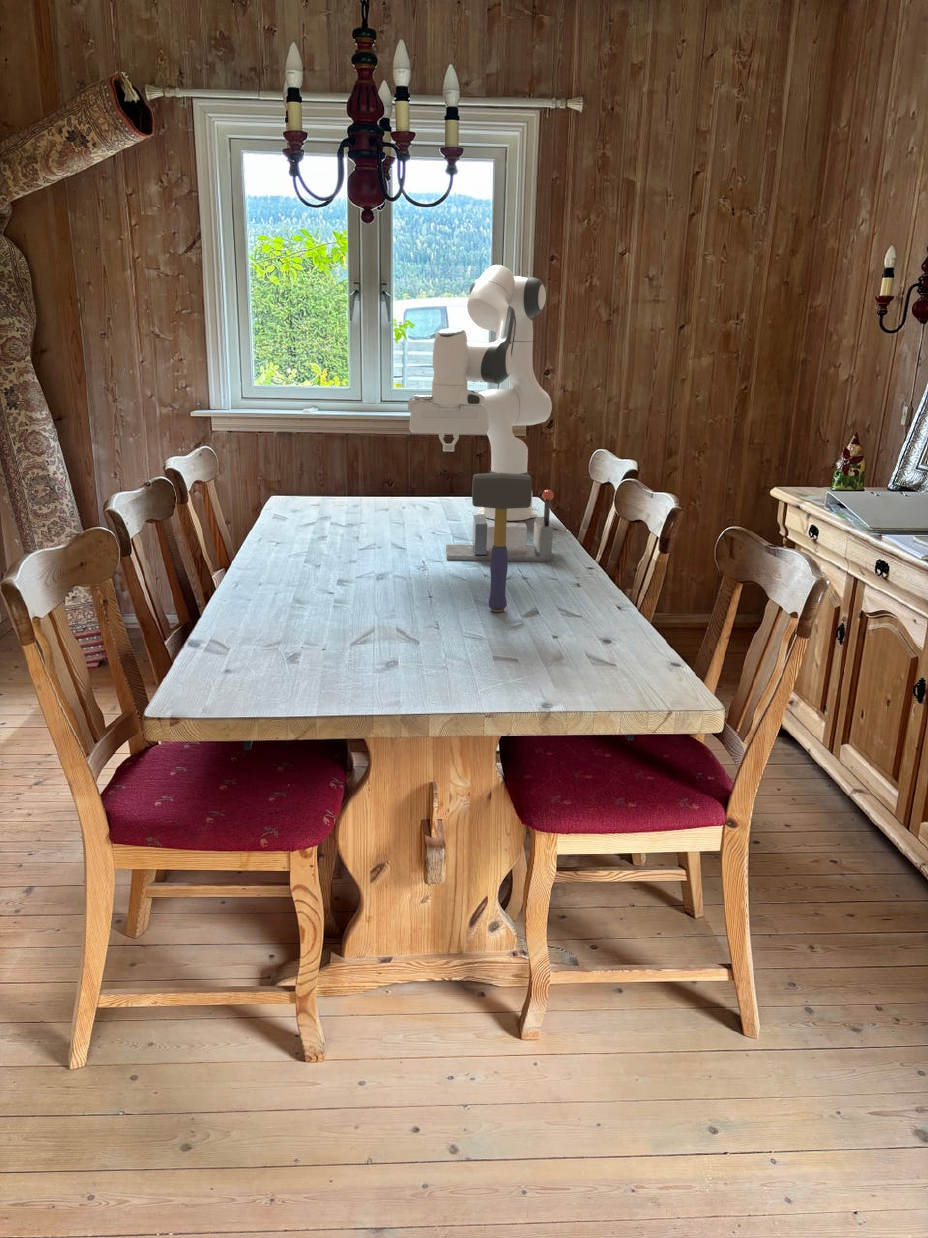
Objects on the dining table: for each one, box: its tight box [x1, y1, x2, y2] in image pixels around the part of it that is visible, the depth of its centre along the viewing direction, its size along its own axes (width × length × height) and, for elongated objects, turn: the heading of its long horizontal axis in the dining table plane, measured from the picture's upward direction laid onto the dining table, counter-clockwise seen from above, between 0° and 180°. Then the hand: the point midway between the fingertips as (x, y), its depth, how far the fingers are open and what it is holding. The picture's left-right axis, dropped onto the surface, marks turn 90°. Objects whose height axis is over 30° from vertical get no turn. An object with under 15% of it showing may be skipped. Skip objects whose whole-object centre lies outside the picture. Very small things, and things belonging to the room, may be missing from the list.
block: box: [487, 521, 528, 553], centre depth 258 cm, size 5×10×7 cm, turn 92°
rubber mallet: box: [471, 472, 533, 613], centre depth 208 cm, size 12×8×30 cm, turn 91°
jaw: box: [472, 514, 489, 555], centre depth 257 cm, size 11×4×8 cm, turn 2°
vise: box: [445, 489, 554, 563], centre depth 256 cm, size 12×27×18 cm, turn 92°
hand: (448, 451), depth 250 cm, fingers closed
